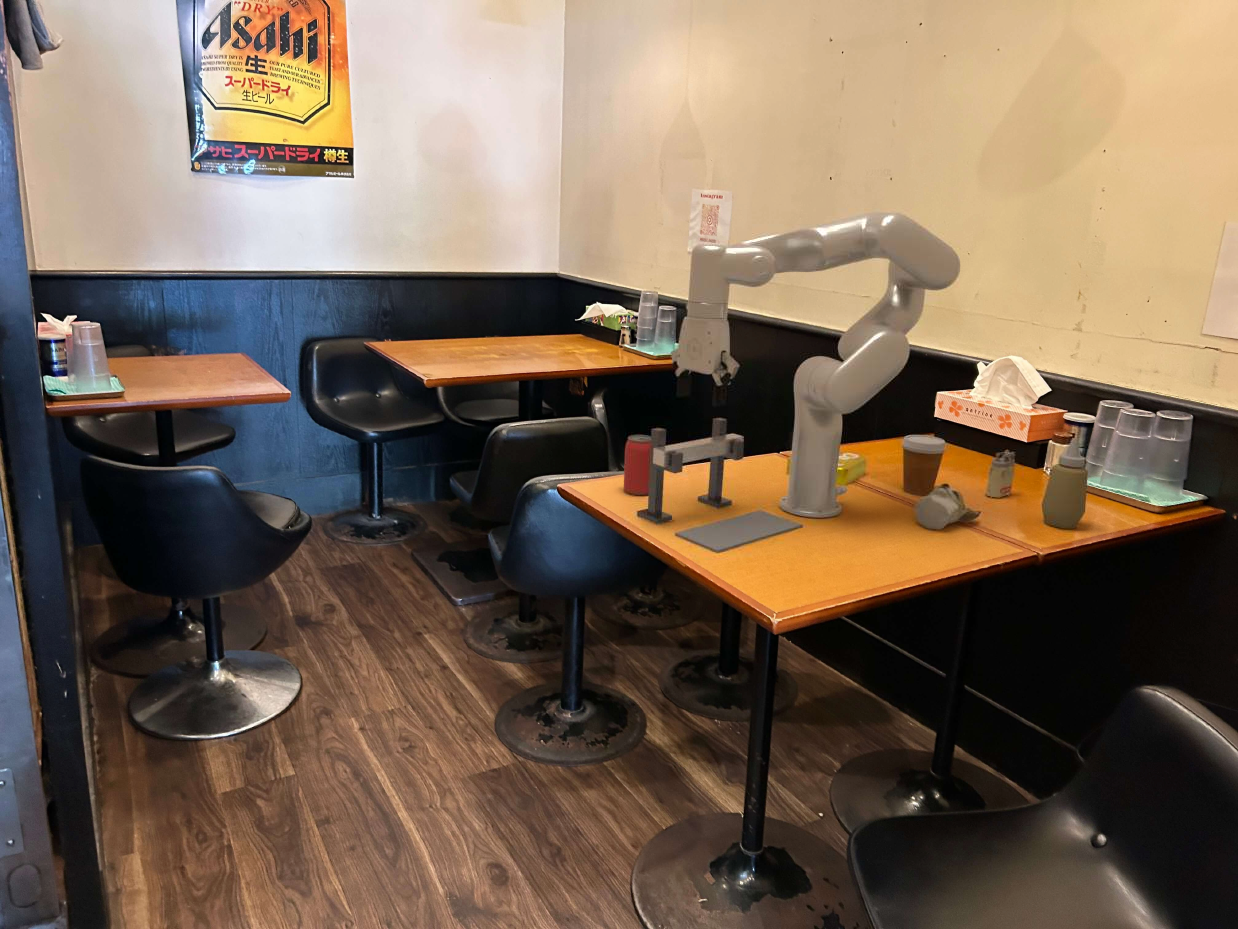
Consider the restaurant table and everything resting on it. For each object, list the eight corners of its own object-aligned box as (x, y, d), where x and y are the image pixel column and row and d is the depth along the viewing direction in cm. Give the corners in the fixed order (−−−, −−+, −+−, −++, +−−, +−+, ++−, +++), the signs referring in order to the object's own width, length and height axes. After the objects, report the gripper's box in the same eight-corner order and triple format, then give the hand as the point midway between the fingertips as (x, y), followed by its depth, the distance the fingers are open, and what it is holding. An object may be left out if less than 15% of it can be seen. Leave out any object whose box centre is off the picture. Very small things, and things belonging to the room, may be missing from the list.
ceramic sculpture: (904, 481, 175) (939, 473, 185) (897, 523, 177) (932, 512, 187) (956, 495, 168) (989, 485, 178) (948, 538, 170) (981, 526, 180)
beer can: (651, 497, 188) (653, 442, 185) (620, 494, 189) (622, 440, 186) (656, 488, 194) (658, 435, 191) (626, 485, 195) (628, 433, 192)
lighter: (997, 499, 195) (1004, 456, 192) (981, 495, 198) (987, 452, 195) (1013, 494, 200) (1020, 451, 197) (997, 490, 202) (1004, 447, 200)
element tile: (809, 462, 221) (810, 444, 220) (867, 474, 213) (869, 454, 212) (783, 475, 209) (784, 455, 208) (843, 487, 201) (845, 467, 200)
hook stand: (710, 497, 189) (716, 415, 184) (742, 508, 183) (748, 423, 178) (636, 515, 176) (640, 427, 171) (667, 528, 169) (672, 437, 165)
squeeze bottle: (1064, 533, 175) (1080, 445, 170) (1029, 521, 182) (1044, 435, 177) (1091, 528, 178) (1107, 441, 173) (1055, 516, 185) (1070, 432, 180)
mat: (759, 512, 181) (760, 509, 181) (802, 527, 173) (802, 524, 173) (674, 535, 166) (674, 532, 166) (717, 553, 158) (717, 550, 158)
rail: (731, 447, 183) (732, 433, 182) (742, 450, 181) (743, 436, 180) (653, 463, 169) (653, 448, 168) (663, 466, 167) (664, 451, 166)
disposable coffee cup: (893, 493, 197) (900, 441, 194) (897, 482, 205) (904, 432, 202) (939, 500, 193) (946, 446, 190) (941, 488, 202) (948, 437, 199)
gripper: (661, 307, 171) (656, 394, 176) (727, 317, 159) (719, 411, 163) (689, 306, 176) (683, 391, 181) (755, 316, 163) (747, 407, 168)
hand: (700, 400), depth 172 cm, fingers open, 9 cm apart
